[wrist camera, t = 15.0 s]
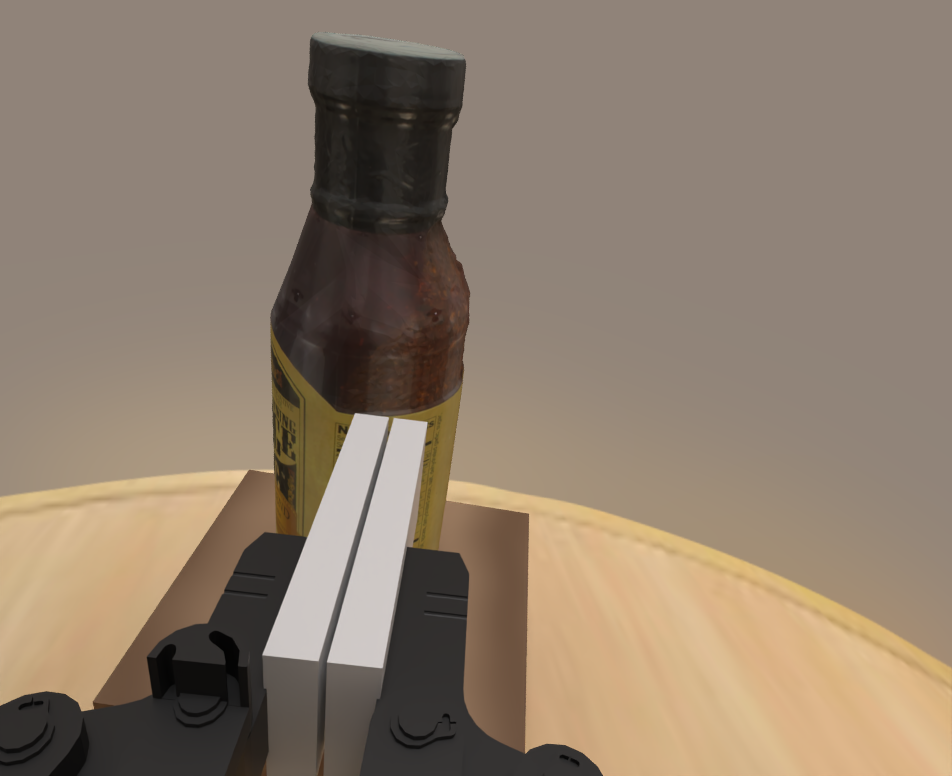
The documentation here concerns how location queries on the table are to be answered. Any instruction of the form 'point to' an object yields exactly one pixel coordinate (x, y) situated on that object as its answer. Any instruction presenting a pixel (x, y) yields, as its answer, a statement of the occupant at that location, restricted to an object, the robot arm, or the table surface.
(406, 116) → the sauce bottle
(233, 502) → the walnut block
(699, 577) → the table surface
